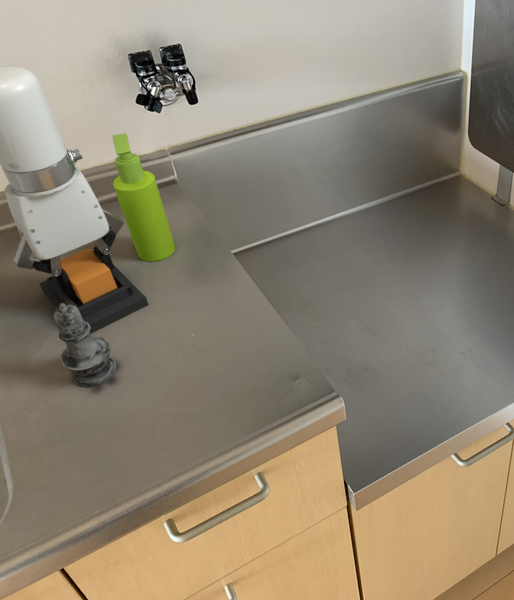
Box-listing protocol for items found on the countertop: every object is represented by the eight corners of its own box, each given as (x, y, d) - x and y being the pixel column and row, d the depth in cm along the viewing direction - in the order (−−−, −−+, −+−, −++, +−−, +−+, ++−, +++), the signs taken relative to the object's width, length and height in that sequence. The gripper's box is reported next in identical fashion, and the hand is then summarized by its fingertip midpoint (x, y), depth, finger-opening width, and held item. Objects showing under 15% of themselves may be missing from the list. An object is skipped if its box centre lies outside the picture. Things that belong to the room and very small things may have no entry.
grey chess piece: (121, 352, 82) (92, 284, 74) (114, 385, 78) (81, 316, 70) (75, 358, 82) (41, 289, 74) (65, 391, 77) (27, 322, 69)
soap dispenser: (140, 269, 96) (99, 153, 83) (135, 245, 101) (96, 132, 87) (179, 259, 98) (144, 145, 84) (172, 236, 102) (139, 124, 89)
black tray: (81, 338, 84) (73, 322, 82) (42, 290, 92) (35, 275, 90) (148, 304, 90) (143, 289, 88) (107, 262, 97) (101, 247, 95)
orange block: (83, 304, 86) (74, 285, 84) (63, 281, 90) (54, 262, 87) (117, 288, 89) (110, 269, 86) (97, 266, 92) (89, 248, 90)
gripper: (93, 139, 83) (132, 247, 95) (-43, 184, 74) (19, 297, 86) (118, 158, 79) (155, 268, 91) (-24, 208, 70) (38, 323, 82)
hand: (88, 281), depth 89 cm, fingers closed on orange block, 4 cm apart
